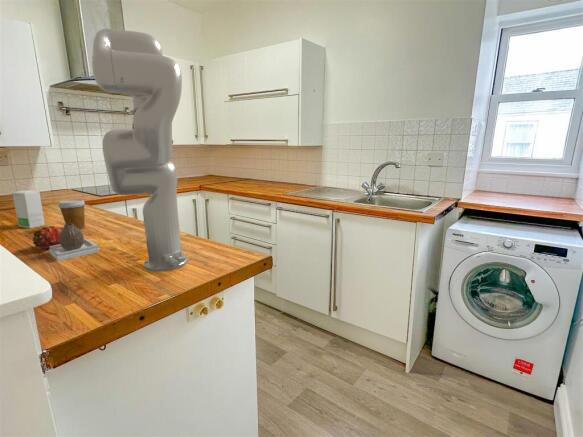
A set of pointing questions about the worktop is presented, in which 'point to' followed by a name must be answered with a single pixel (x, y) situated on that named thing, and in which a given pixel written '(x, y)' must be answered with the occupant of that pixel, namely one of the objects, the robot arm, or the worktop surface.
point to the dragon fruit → (47, 237)
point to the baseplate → (73, 251)
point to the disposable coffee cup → (73, 212)
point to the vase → (71, 237)
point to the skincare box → (28, 208)
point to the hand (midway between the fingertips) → (152, 164)
